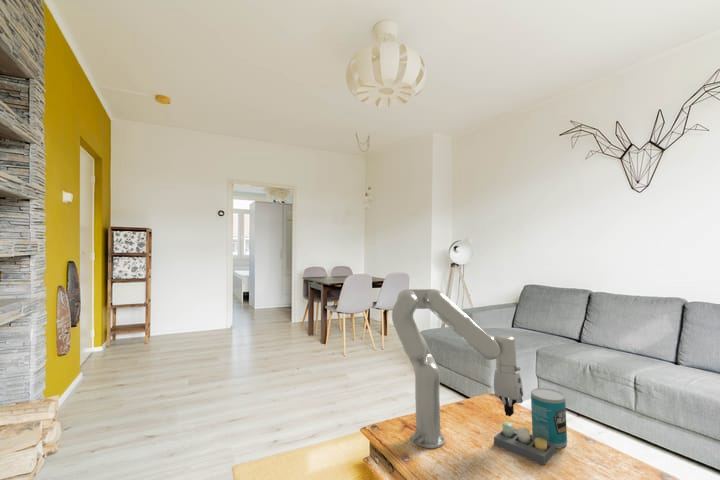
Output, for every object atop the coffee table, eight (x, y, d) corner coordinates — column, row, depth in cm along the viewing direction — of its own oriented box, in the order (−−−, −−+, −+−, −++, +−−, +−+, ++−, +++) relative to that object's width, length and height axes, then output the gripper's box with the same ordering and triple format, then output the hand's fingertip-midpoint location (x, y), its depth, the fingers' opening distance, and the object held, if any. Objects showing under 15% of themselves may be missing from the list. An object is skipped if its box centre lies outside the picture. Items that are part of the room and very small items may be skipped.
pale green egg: (511, 438, 132) (510, 428, 132) (501, 434, 135) (500, 424, 135) (515, 434, 134) (515, 424, 135) (505, 431, 137) (505, 420, 138)
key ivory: (527, 444, 127) (527, 433, 127) (516, 440, 130) (516, 429, 130) (531, 440, 130) (531, 429, 130) (520, 436, 133) (520, 426, 133)
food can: (531, 430, 143) (529, 386, 144) (564, 435, 138) (562, 390, 139) (533, 444, 132) (531, 397, 133) (569, 451, 127) (567, 402, 128)
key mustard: (545, 456, 123) (544, 444, 123) (533, 451, 126) (532, 440, 126) (548, 451, 126) (548, 440, 126) (537, 447, 129) (536, 436, 129)
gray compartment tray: (544, 465, 119) (543, 456, 120) (494, 445, 132) (493, 437, 133) (555, 451, 128) (555, 443, 128) (507, 433, 141) (507, 426, 141)
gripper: (529, 369, 133) (532, 417, 132) (492, 361, 144) (495, 406, 143) (522, 374, 128) (525, 424, 127) (484, 366, 139) (486, 412, 138)
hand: (509, 414), depth 135 cm, fingers closed
